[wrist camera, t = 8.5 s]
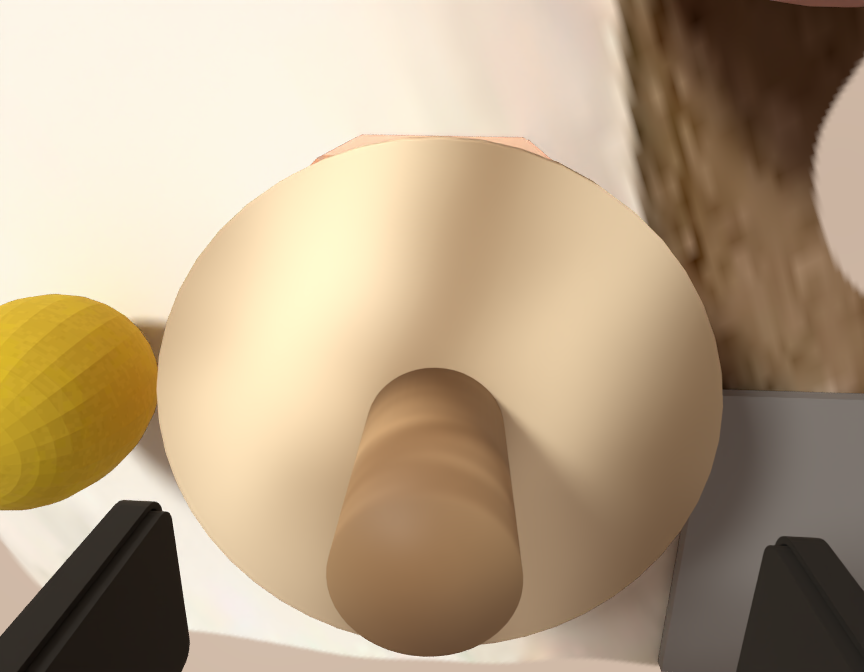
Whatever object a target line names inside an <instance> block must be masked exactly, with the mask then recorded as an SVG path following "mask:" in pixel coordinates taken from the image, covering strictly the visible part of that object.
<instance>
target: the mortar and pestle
mask: <svg viewBox="0 0 864 672" xmlns="http://www.w3.org/2000/svg"><path fill="white" fill-rule="evenodd" d="M771 1H778V2H784V3H791V4H797V5H804V6H818V7H862V6H864V0H771Z"/></svg>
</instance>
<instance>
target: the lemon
mask: <svg viewBox="0 0 864 672" xmlns="http://www.w3.org/2000/svg"><path fill="white" fill-rule="evenodd" d="M157 376H158V368H157V362H156V359H155V357H154V354H153V352H152V349H151V346H150V344H149V343H148V341H147V340H146V338H145V337H144V335H143V334H142V332H141V331H140V330H139V328H138V327H137V326H135V325H134V324H133V323H132V322H131V321H130V320H129V319H128V318H127V317H126V316H125V315H123V314H121V313H120V312H118V311H116V310H115V309H113V308H111V307H110V306H108V305H106V304H103V303H100V302H97V301H94V300H91V299H89V298H86V297H80V296H71V295H60V294H49V295H42V296H35V297H28V298H23V299H17V300H14V301H11V302H8V303H6V304H3V305H1V306H0V510H27V509H33V508H37V507H41V506H45V505H50V504H53V503H56V502H59V501H62V500H64V499H66V498H68V497H70V496H72V495H74V494H76V493H77V492H79V491H81V490H83V489H85V488H86V487H88V486H90V485H92V484H93V483H95V482H97V481H98V480H100V479H101V478H103V477H104V476H106V475H107V474H108V473H109V472H111V471H112V470H113V469H114V468H115V467H116V466H117V465H118V464H119V463H120V462H121V461H122V460H123V459H124V458H125V457H126V456H127V455H128V454H129V453H130V452H131V451H132V450H133V448H134V447H135V446H136V445H137V444H138V442H139V441H140V439H141V438H142V436H143V434H144V432H145V430H146V428H147V426H148V424H149V422H150V420H151V418H152V416H153V414H154V412H155V408H156V404H157Z"/></svg>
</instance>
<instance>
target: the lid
mask: <svg viewBox="0 0 864 672" xmlns="http://www.w3.org/2000/svg"><path fill="white" fill-rule="evenodd" d="M157 402H158V416H159V424H160V429H161V434H162V438H163V443H164V447H165V452H166V455H167V458H168V461H169V463H170V466H171V469H172V472H173V474H174V477H175V480H176V482H177V485H178V487H179V489H180V490H181V492H182V494H183V496H184V498H185V500H186V502H187V504H188V506H189V508H190V509H191V511H192V513H193V514H194V516H195V517H196V519H197V520H198V521H199V523H200V524H201V526H202V527H203V529H204V530H205V532H206V533H207V534H208V536H209V537H210V538H211V540H212V541H213V542H214V543H215V544H216V545H217V546H218V547H219V549H220V550H221V551H222V552H223V553H224V554H225V555H226V556H227V557H228V559H229V560H230V561H231V562H232V563H233V564H235V565H236V566H237V567H238V568H239V569H240V570H241V571H242V572H244V573H245V574H246V575H247V576H248V577H249V578H250V579H252V580H253V581H254V582H255V583H256V584H258V585H259V586H261V587H262V588H263V589H265V590H266V591H268V592H269V593H271V594H272V595H273V596H275V597H276V598H278V599H279V600H281V601H282V602H284V603H286V604H288V605H290V606H291V607H293V608H295V609H297V610H299V611H300V612H302V613H304V614H306V615H308V616H310V617H312V618H315V619H317V620H319V621H322V622H324V623H326V624H329V625H331V626H334V627H336V628H339V629H342V630H345V631H348V632H352V633H355V634H358V635H361V636H362V637H364V638H365V639H367V640H368V641H370V642H372V643H374V644H376V645H378V646H380V647H383V648H385V649H387V650H391V651H394V652H397V653H401V654H406V655H412V656H423V657H427V656H444V655H450V654H455V653H460V652H463V651H466V650H469V649H471V648H474V647H476V646H478V645H481V644H490V643H497V642H502V641H506V640H511V639H516V638H520V637H525V636H528V635H531V634H535V633H538V632H541V631H544V630H547V629H550V628H553V627H556V626H558V625H560V624H563V623H565V622H567V621H569V620H572V619H574V618H576V617H578V616H580V615H583V614H585V613H587V612H588V611H590V610H592V609H593V608H595V607H597V606H598V605H600V604H602V603H603V602H605V601H607V600H608V599H610V598H612V597H613V596H615V595H616V594H617V593H619V592H620V591H621V590H623V589H624V588H625V587H627V586H628V585H629V584H630V583H632V582H633V581H634V580H636V579H637V578H638V577H639V576H640V575H641V574H642V573H643V572H644V571H645V570H646V569H648V568H649V567H650V566H651V565H652V564H653V563H654V562H655V561H656V560H657V559H658V558H659V557H660V556H661V555H662V554H663V552H664V551H665V550H666V548H667V547H668V546H669V545H670V543H671V542H672V541H673V540H674V538H675V537H676V536H677V535H678V533H679V532H680V531H681V530H682V528H683V526H684V525H685V523H686V521H687V519H688V518H689V516H690V514H691V513H692V511H693V509H694V508H695V506H696V504H697V503H698V501H699V498H700V496H701V494H702V491H703V489H704V487H705V484H706V482H707V480H708V477H709V475H710V473H711V469H712V465H713V461H714V458H715V454H716V450H717V446H718V443H719V437H720V428H721V420H722V411H723V394H722V371H721V366H720V361H719V356H718V350H717V345H716V340H715V336H714V333H713V331H712V328H711V325H710V322H709V319H708V316H707V314H706V311H705V308H704V305H703V303H702V301H701V299H700V297H699V295H698V293H697V292H696V290H695V288H694V286H693V284H692V282H691V280H690V279H689V277H688V275H687V273H686V271H685V270H684V268H683V267H682V266H681V264H680V263H679V262H678V260H677V259H676V258H675V256H674V255H673V254H672V252H671V251H670V250H669V248H668V247H667V246H666V244H665V243H664V242H663V240H662V239H661V238H660V237H659V236H658V235H657V234H656V233H655V232H654V231H653V230H652V229H651V228H650V227H649V226H648V225H647V224H646V223H645V222H644V221H643V220H642V219H641V218H640V217H639V216H638V215H637V214H636V213H635V212H633V211H632V210H631V209H629V208H628V207H627V206H625V205H624V204H623V203H621V202H620V201H619V200H617V199H616V198H615V197H613V196H612V195H611V194H609V193H608V192H607V191H605V190H604V189H603V188H601V187H600V186H599V185H597V184H596V183H595V182H593V181H592V180H590V179H588V178H586V177H584V176H582V175H581V174H579V173H577V172H575V171H573V170H571V169H570V168H568V167H566V166H564V165H562V164H560V163H559V162H556V161H553V160H551V159H548V158H545V157H543V156H540V155H538V154H535V153H532V152H530V151H527V150H524V149H522V148H517V147H513V146H509V145H504V144H500V143H495V142H491V141H487V140H482V139H471V138H459V137H448V136H432V137H412V138H399V139H394V140H389V141H383V142H378V143H373V144H368V145H363V146H360V147H357V148H354V149H351V150H348V151H345V152H342V153H339V154H336V155H333V156H330V157H327V158H325V159H323V160H321V161H319V162H317V163H315V164H313V165H311V166H309V167H307V168H305V169H303V170H301V171H299V172H297V173H295V174H293V175H291V176H289V177H287V178H285V179H284V180H282V181H280V182H279V183H277V184H276V185H274V186H273V187H271V188H270V189H268V190H267V191H266V192H264V193H263V194H261V195H260V196H258V197H257V198H256V199H254V200H253V201H251V202H250V203H248V204H247V205H246V206H245V207H244V208H243V209H242V210H241V211H240V212H239V213H238V214H236V215H235V216H234V217H233V218H232V219H231V220H230V221H229V222H228V223H227V224H226V225H225V226H224V227H223V228H222V229H220V231H219V232H218V233H217V234H216V236H215V237H214V238H213V239H212V241H211V242H210V243H209V244H208V246H207V247H206V248H205V249H204V251H203V252H202V253H201V254H200V256H199V257H198V258H197V260H196V261H195V263H194V265H193V267H192V268H191V270H190V272H189V274H188V275H187V277H186V279H185V281H184V282H183V284H182V286H181V288H180V289H179V291H178V294H177V297H176V299H175V302H174V304H173V307H172V310H171V312H170V315H169V317H168V320H167V322H166V327H165V331H164V336H163V340H162V344H161V349H160V353H159V362H158V376H157Z"/></svg>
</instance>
